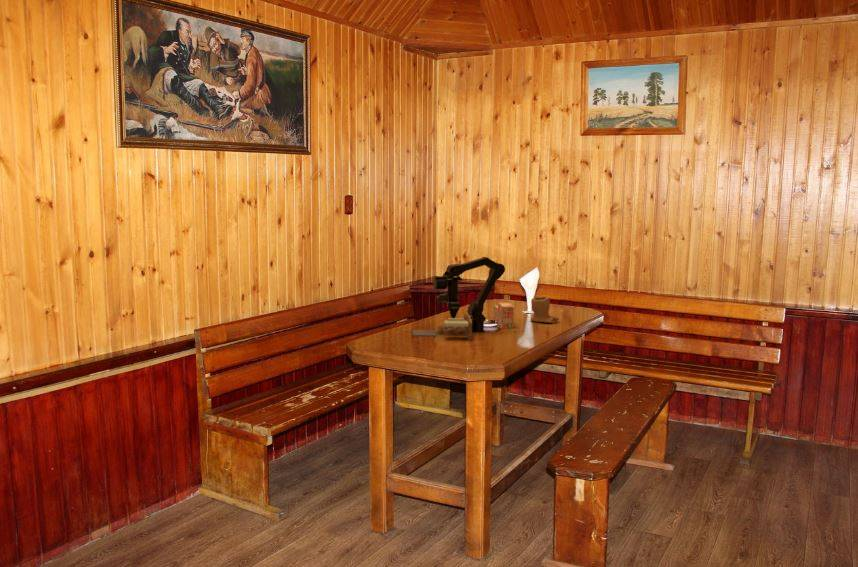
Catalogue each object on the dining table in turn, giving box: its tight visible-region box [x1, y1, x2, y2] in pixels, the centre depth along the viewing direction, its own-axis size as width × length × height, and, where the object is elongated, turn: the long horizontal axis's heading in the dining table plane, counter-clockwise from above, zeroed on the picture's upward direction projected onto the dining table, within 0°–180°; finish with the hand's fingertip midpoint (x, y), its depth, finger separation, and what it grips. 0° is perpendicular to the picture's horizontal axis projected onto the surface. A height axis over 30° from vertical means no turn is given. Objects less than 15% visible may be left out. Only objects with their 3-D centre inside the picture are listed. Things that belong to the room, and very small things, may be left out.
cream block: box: [447, 326, 457, 330], centre depth 388 cm, size 4×4×6 cm
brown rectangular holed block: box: [437, 313, 473, 341], centre depth 381 cm, size 16×25×9 cm, turn 3°
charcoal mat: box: [412, 329, 438, 338], centre depth 382 cm, size 12×12×1 cm
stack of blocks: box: [493, 302, 515, 329], centre depth 413 cm, size 21×6×12 cm, turn 8°
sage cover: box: [443, 317, 469, 326], centre depth 372 cm, size 12×8×3 cm, turn 93°
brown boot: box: [530, 295, 560, 324], centre depth 422 cm, size 15×12×15 cm
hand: (452, 318), depth 387 cm, fingers open, 9 cm apart
